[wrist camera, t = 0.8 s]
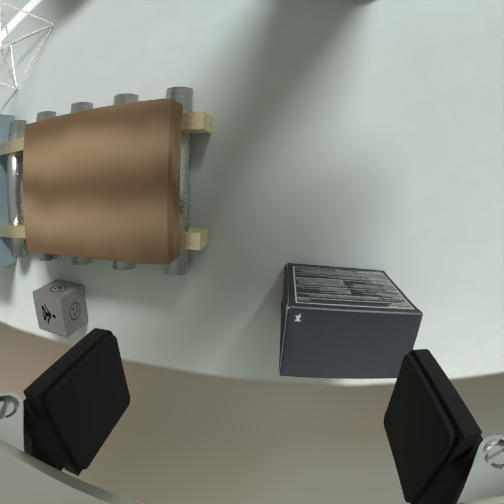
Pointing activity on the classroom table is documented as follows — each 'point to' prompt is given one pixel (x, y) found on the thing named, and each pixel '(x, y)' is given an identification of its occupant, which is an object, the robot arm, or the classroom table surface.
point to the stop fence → (4, 193)
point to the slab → (105, 183)
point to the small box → (344, 323)
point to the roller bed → (187, 235)
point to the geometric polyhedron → (17, 40)
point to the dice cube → (60, 307)
